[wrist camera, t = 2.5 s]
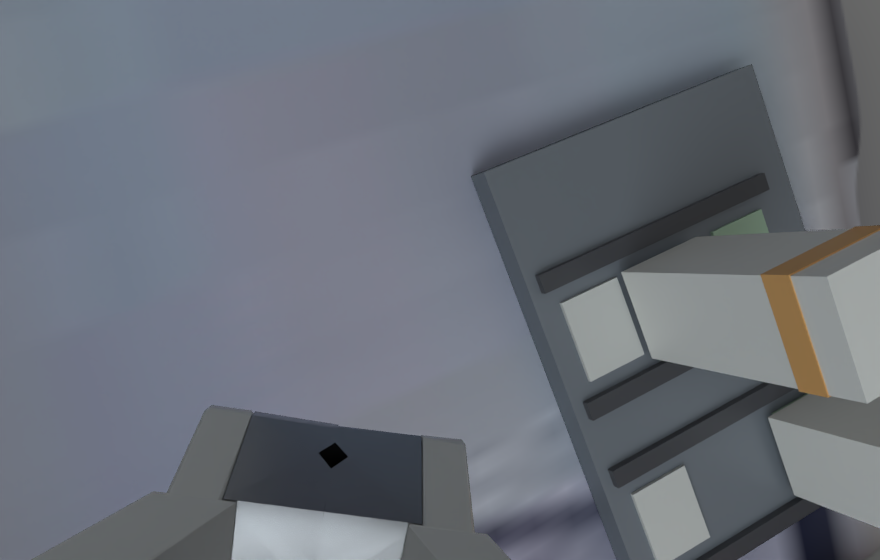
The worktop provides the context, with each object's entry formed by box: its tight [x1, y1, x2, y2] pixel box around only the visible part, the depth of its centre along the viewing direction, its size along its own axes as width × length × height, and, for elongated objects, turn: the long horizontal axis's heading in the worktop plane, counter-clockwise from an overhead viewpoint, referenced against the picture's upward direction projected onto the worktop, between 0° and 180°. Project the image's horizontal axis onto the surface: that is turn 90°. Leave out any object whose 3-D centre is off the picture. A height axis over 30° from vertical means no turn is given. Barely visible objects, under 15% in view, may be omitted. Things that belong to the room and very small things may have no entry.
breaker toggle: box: [621, 225, 880, 404], centre depth 28 cm, size 4×4×11 cm
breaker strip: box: [471, 64, 880, 560], centre depth 29 cm, size 20×14×13 cm
